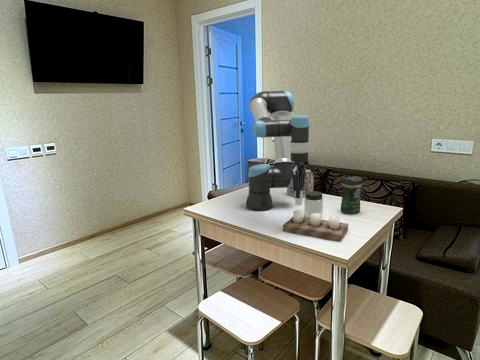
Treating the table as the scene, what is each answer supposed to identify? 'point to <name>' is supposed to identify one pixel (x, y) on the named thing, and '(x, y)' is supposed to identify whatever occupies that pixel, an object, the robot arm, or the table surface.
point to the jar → (313, 203)
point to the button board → (316, 229)
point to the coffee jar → (351, 195)
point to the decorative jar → (307, 185)
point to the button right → (334, 222)
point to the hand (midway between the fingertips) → (298, 204)
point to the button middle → (315, 219)
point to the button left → (298, 216)
